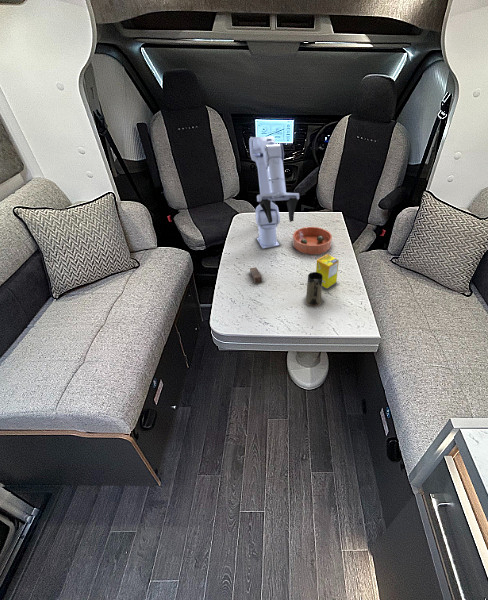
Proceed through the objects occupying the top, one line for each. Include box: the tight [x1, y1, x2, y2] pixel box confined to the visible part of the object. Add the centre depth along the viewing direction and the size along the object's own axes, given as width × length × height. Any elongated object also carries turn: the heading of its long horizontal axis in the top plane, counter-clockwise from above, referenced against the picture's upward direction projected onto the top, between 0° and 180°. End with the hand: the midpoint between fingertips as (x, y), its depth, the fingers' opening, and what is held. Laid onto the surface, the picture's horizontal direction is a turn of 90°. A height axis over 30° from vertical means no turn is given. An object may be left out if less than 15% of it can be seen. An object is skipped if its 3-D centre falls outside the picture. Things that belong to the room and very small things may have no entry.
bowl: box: [292, 226, 333, 255], centre depth 152 cm, size 17×17×4 cm
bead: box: [317, 236, 324, 243], centre depth 154 cm, size 3×3×3 cm
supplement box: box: [315, 253, 340, 291], centre depth 127 cm, size 6×6×11 cm
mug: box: [305, 271, 323, 307], centre depth 118 cm, size 8×6×12 cm
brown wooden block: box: [249, 266, 263, 284], centre depth 133 cm, size 7×3×3 cm, turn 21°
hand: (281, 221), depth 116 cm, fingers open, 7 cm apart
